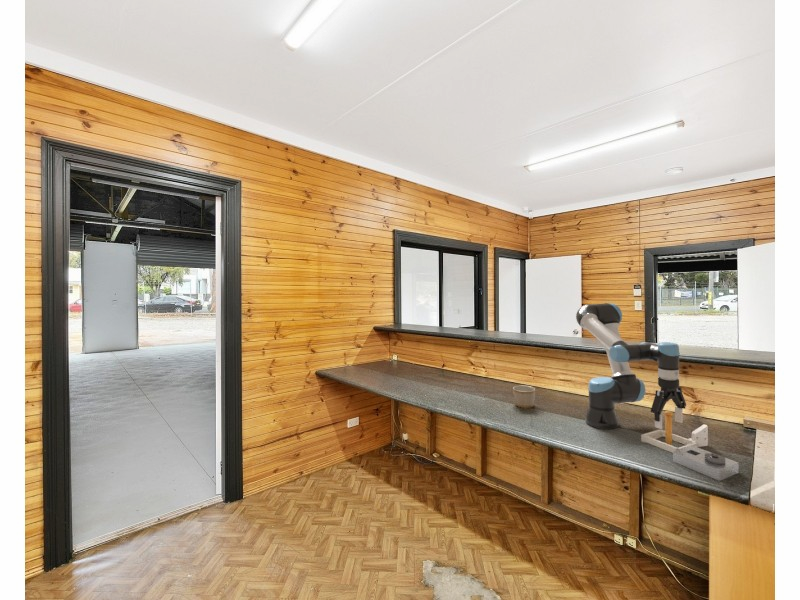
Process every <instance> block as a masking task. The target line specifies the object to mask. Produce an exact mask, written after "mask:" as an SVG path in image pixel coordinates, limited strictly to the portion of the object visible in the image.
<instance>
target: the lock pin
mask: <svg viewBox="0 0 800 600" xmlns="http://www.w3.org/2000/svg"><path fill="white" fill-rule="evenodd" d="M663 413H664V414H663V415H664V417H665V418H664V423H665V427H664V428H665V429H664V431H665V437H664V438H665V443H666V444H669V445H671V446H673V440H672V434H673V416H674V412H673V411H671V410H663Z"/></svg>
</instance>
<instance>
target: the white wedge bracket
mask: <svg viewBox="0 0 800 600" xmlns="http://www.w3.org/2000/svg"><path fill="white" fill-rule="evenodd" d="M708 429H709V426H708V425H707V424H704V423H703V424H702V425H701V426H699V427H697V428H696V429H695V430H693V431H692V432H691V437H690V438H687V439H689V440H692V441H695V442H697V443H698V448H700V447H708V446H709V445H708V443H709V437H708V435H709V431H708Z"/></svg>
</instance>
